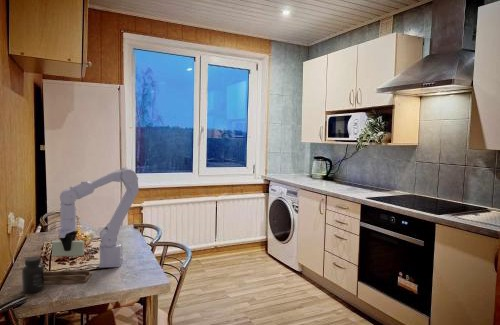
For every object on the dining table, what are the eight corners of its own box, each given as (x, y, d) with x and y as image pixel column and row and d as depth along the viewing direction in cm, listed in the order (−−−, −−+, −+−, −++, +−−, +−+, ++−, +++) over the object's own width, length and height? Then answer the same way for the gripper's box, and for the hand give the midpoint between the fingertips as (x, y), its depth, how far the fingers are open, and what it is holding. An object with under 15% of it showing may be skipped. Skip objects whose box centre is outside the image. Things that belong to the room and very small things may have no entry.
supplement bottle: (17, 292, 125) (17, 260, 124) (35, 284, 132) (34, 254, 131) (31, 295, 123) (30, 263, 122) (48, 288, 129) (47, 257, 128)
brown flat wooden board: (91, 274, 142) (91, 268, 142) (85, 282, 135) (85, 276, 134) (44, 276, 140) (44, 270, 139) (35, 284, 132) (35, 278, 132)
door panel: (84, 254, 148) (84, 240, 147) (82, 255, 146) (82, 241, 145) (54, 254, 146) (54, 240, 146) (52, 256, 144) (52, 242, 144)
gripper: (64, 214, 151) (65, 244, 152) (50, 222, 137) (51, 255, 138) (81, 214, 152) (81, 244, 153) (69, 222, 138) (69, 255, 139)
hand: (68, 249), depth 146 cm, fingers closed on door panel, 2 cm apart
